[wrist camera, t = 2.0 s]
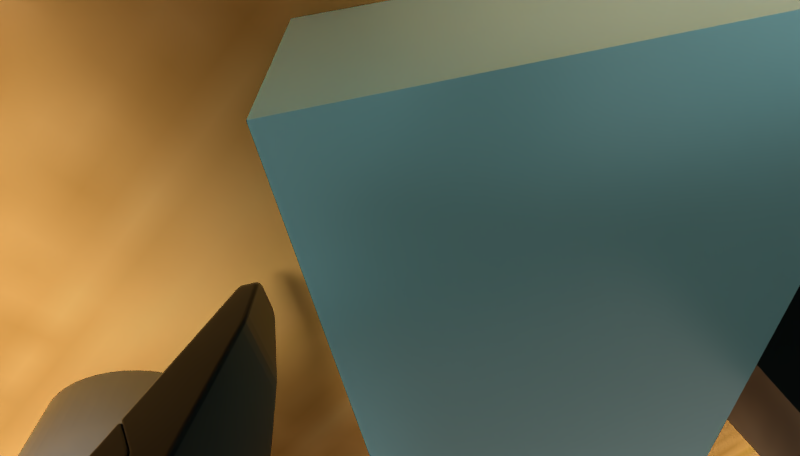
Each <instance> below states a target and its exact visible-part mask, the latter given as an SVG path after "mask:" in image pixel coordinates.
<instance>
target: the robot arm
mask: <svg viewBox="0 0 800 456" xmlns="http://www.w3.org/2000/svg"><path fill="white" fill-rule="evenodd" d="M757 366H758V367H759V368H760V369H761V371H762V372H763V373H764V374H765V375H766V376H767V377H768V378H769V380H770V381H771V382H772V383H773V384H774V385H775V386H776V387H777V388H778V390H779V391H780V392H781V393H782V394H783V395H784V396H785V397H786V399H787V400H788V401H789V402H790V403H791V404H792V405H793V406H794V408H795V409H796V410H797V411H798V412H799V413H800V286H799V288H798V289H797V291H796V293H795V295H794V297H793V299H792V301H791V302H790V304H789V306H788V308H787V310H786V312H785V313H784V315H783V317H782V319H781V321H780V323H779V324H778V326H777V328H776V330H775V332H774V334H773V336H772V337H771V339H770V341H769V343H768V345H767V347H766V348H765V350H764V352H763V354H762V356H761V358H760V359H759V361H758V363H757ZM276 386H277V367H276V337H275V316H274V311H273V308H272V306H271V304H270V302H269V299H268V297H267V295H266V293H265V291H264V288H263V286H262V285H261V284H260V283H258V282H256V283H251V284H247V285H242V286H240V287H239V288H238V289H237V290H236V291H235V292H234V293H233V294H232V296H231V297H230V298H229V299H228V300H227V301H226V302H225V303H224V305H223V306H222V307H221V308H220V309H219V310H218V311H217V313H216V314H215V315H214V316H213V317H212V318H211V319H210V320H209V322H208V323H207V324H206V325H205V326H204V327H203V328H202V329H201V331H200V332H199V333H198V334H197V335H196V336H195V337H194V338H193V340H192V341H191V342H190V343H189V344H188V345H187V346H186V348H185V349H184V350H183V351H182V352H181V353H180V354H179V355H178V357H177V358H176V359H175V360H174V361H173V362H172V363H171V364H170V366H169V367H168V368H167V369H166V370H165V371H164V372H163V373H162V375H161V376H160V377H159V378H158V379H157V380H156V381H155V383H154V384H153V385H152V386H151V387H150V388H149V389H148V390H147V392H146V393H145V394H144V395H143V396H142V397H141V398H140V399H139V401H138V402H137V403H136V404H135V405H134V406H133V407H132V408H131V410H130V411H129V412H128V413H127V414H126V415H125V416H124V417H123V419H122V421H121V422H122V423H119V424H117V425H116V426H115V427H114V429H113V430H112V431H111V432H110V433H109V434H108V435H107V436H106V438H105V439H104V440H103V441H102V442H101V443H100V444H99V445H98V447H97V448H96V449H95V450H94V451H93V452H92V453H91V454H90V455H89V456H270V455H271V444H272V433H273V422H274V411H275V400H276Z"/></svg>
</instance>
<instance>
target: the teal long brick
mask: <svg viewBox="0 0 800 456" xmlns="http://www.w3.org/2000/svg"><path fill="white" fill-rule="evenodd" d="M246 121H247V124H248V127H249V129H250V132H251V135H252V138H253V140H254V143H255V146H256V148H257V151H258V154H259V157H260V159H261V162H262V165H263V167H264V170H265V173H266V176H267V178H268V181H269V184H270V186H271V189H272V192H273V195H274V197H275V200H276V203H277V205H278V208H279V211H280V214H281V216H282V219H283V222H284V224H285V227H286V230H287V233H288V235H289V238H290V241H291V243H292V246H293V249H294V252H295V254H296V257H297V260H298V262H299V265H300V268H301V271H302V273H303V276H304V279H305V281H306V284H307V287H308V290H309V292H310V295H311V298H312V300H313V303H314V306H315V309H316V311H317V314H318V317H319V319H320V322H321V325H322V328H323V330H324V333H325V336H326V338H327V341H328V344H329V347H330V349H331V352H332V355H333V357H334V360H335V363H336V366H337V368H338V371H339V374H340V376H341V379H342V382H343V385H344V387H345V390H346V393H347V395H348V398H349V401H350V404H351V406H352V409H353V412H354V414H355V417H356V420H357V423H358V425H359V428H360V431H361V433H362V436H363V439H364V442H365V444H366V447H367V450H368V452H369V455H370V456H707V455H708V453H709V452H710V450H711V448H712V446H713V444H714V442H715V440H716V439H717V437H718V435H719V433H720V431H721V429H722V428H723V426H724V424H725V422H726V420H727V418H728V417H729V415H730V413H731V411H732V409H733V407H734V406H735V404H736V402H737V400H738V398H739V396H740V394H741V393H742V391H743V389H744V387H745V385H746V383H747V382H748V380H749V378H750V376H751V374H752V372H753V371H754V369H755V367H756V365H757V363H758V361H759V359H760V358H761V356H762V354H763V352H764V350H765V348H766V347H767V345H768V343H769V341H770V339H771V337H772V336H773V334H774V332H775V330H776V328H777V326H778V324H779V323H780V321H781V319H782V317H783V315H784V313H785V312H786V310H787V308H788V306H789V304H790V302H791V301H792V299H793V297H794V295H795V293H796V291H797V289H798V288H799V286H800V0H388V1H383V2H377V3H372V4H366V5H361V6H356V7H350V8H345V9H339V10H334V11H329V12H323V13H318V14H312V15H307V16H302V17H296V18H291V19H290V22H289V24H288V26H287V28H286V31H285V33H284V35H283V38H282V40H281V42H280V44H279V47H278V49H277V51H276V53H275V56H274V58H273V60H272V63H271V65H270V67H269V69H268V72H267V74H266V76H265V78H264V81H263V83H262V85H261V88H260V90H259V92H258V94H257V97H256V99H255V101H254V104H253V106H252V108H251V110H250V113H249V115H248V117H247V119H246Z"/></svg>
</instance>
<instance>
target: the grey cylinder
mask: <svg viewBox="0 0 800 456" xmlns="http://www.w3.org/2000/svg"><path fill="white" fill-rule="evenodd" d="M161 375H162V373H160V372H153V371H118V372H110V373H104V374H99V375H95V376H92V377H88V378H85V379H83V380H80V381H78V382H75V383H73V384H72V385H70V386H68V387H66V388H65V389H63V390H62V391H61V392H59V393H58V394H57V395H56V396H55V397H54V398H53V399H52V401H51V402H50V404H49V405H48V407H47V409H46V410H45V412H44V414H43V415H42V417H41V418H40V420H39V422H38V423H37V425H36V427H35V428H34V430H33V432H32V433H31V435H30V437H29V438H28V440H27V442H26V443H25V445H24V447H23V448H22V450H21V452H20V453H19V455H18V456H89V455H90V454H91V453H92V452H93V451H94V450H95V449H96V448H97V447H98V445H99V444H100V443H101V442H102V441H103V440H104V439H105V438H106V436H107V435H108V434H109V433H110V432H111V431H112V430H113V429H114V427H115V426H116V425H117V424H119V423H122V422H121V421H122V419H123V417H124V416H125V415H126V414H127V413H128V412H129V411H130V410H131V408H132V407H133V406H134V405H135V404H136V403H137V402H138V401H139V399H140V398H141V397H142V396H143V395H144V394H145V393H146V392H147V390H148V389H149V388H150V387H151V386H152V385H153V384H154V383H155V381H156V380H157V379H158V378H159V377H160V376H161Z"/></svg>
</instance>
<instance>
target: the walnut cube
mask: <svg viewBox="0 0 800 456" xmlns="http://www.w3.org/2000/svg"><path fill="white" fill-rule="evenodd" d="M727 420H728V421H729V422H730V423H731V424H732V425H733V426H734V428H735V429H736V430H737V431H738V432H739V433H740V434H741V435H742V436H743V437H744V439H745V440H746V441H747V442H748V443H749V444H750V445H751V446H752V447H753V448H754V450H755V451H756V452H757V453H758V454H759V455H760V456H800V413H799V412H798V411H797V410H796V409H795V408H794V406H793V405H792V404H791V403H790V402H789V401H788V400H787V399H786V397H785V396H784V395H783V394H782V393H781V392H780V391H779V390H778V388H777V387H776V386H775V385H774V384H773V383H772V382H771V381H770V380H769V378H768V377H767V376H766V375H765V374H764V373H763V372H762V371H761V369H760V368H759V367H758V366H757V365H756V367H755V369H754V371H753V372H752V374H751V376H750V378H749V380H748V382H747V383H746V385H745V387H744V389H743V391H742V393H741V394H740V396H739V398H738V400H737V402H736V404H735V406H734V407H733V409H732V411H731V413H730V415H729V417H728V418H727Z"/></svg>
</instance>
